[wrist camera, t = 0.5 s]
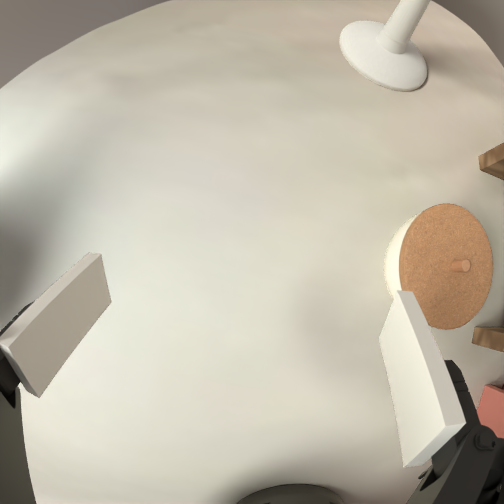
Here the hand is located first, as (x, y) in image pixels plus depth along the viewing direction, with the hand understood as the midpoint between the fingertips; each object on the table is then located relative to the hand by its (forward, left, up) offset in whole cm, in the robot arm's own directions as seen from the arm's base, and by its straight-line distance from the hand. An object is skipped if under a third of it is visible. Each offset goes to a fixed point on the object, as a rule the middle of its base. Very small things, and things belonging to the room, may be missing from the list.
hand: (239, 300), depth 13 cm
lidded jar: (+4, -17, -16) cm, 24 cm away
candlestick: (+32, -14, -16) cm, 38 cm away
